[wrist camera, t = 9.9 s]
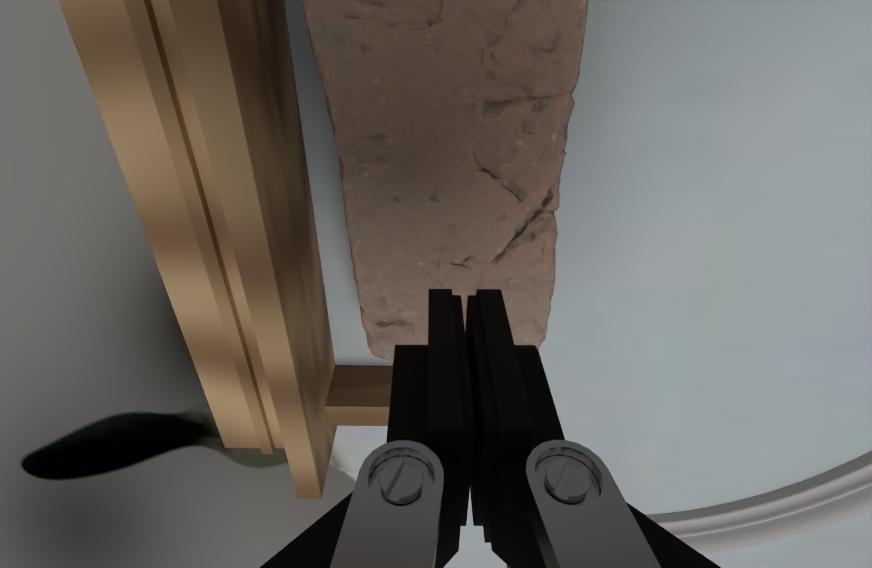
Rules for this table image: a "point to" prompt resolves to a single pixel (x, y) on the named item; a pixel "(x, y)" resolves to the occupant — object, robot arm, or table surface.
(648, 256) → the table surface
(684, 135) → the table surface
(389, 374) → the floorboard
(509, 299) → the brick
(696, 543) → the molding
